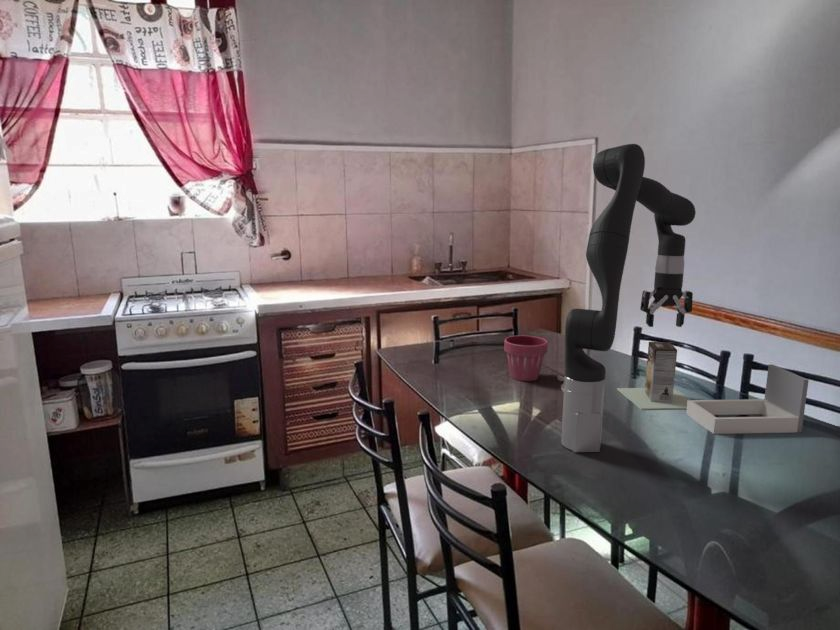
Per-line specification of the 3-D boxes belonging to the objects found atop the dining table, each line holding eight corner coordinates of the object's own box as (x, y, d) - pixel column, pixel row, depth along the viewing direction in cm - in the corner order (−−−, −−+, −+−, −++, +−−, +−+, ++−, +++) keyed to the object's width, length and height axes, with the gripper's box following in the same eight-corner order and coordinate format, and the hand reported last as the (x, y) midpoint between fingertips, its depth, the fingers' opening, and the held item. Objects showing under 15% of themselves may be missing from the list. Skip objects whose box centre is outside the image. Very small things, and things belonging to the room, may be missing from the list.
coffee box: (643, 391, 181) (647, 341, 178) (665, 392, 180) (670, 341, 177) (650, 401, 172) (654, 348, 169) (673, 403, 171) (678, 349, 168)
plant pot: (543, 385, 188) (544, 346, 185) (499, 381, 192) (500, 343, 190) (548, 373, 201) (550, 336, 199) (507, 369, 205) (508, 333, 203)
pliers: (566, 389, 180) (548, 375, 194) (566, 394, 180) (547, 380, 195) (596, 388, 182) (576, 374, 196) (596, 393, 182) (576, 378, 196)
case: (801, 432, 151) (808, 379, 148) (713, 433, 150) (719, 381, 147) (766, 412, 165) (772, 364, 162) (686, 414, 163) (690, 365, 161)
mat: (703, 408, 168) (703, 407, 168) (641, 409, 167) (641, 408, 167) (672, 388, 185) (673, 387, 185) (616, 389, 184) (616, 388, 184)
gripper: (650, 272, 165) (646, 329, 168) (700, 272, 165) (694, 329, 168) (639, 269, 172) (635, 324, 175) (687, 269, 173) (682, 323, 176)
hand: (664, 326), depth 172 cm, fingers open, 8 cm apart
